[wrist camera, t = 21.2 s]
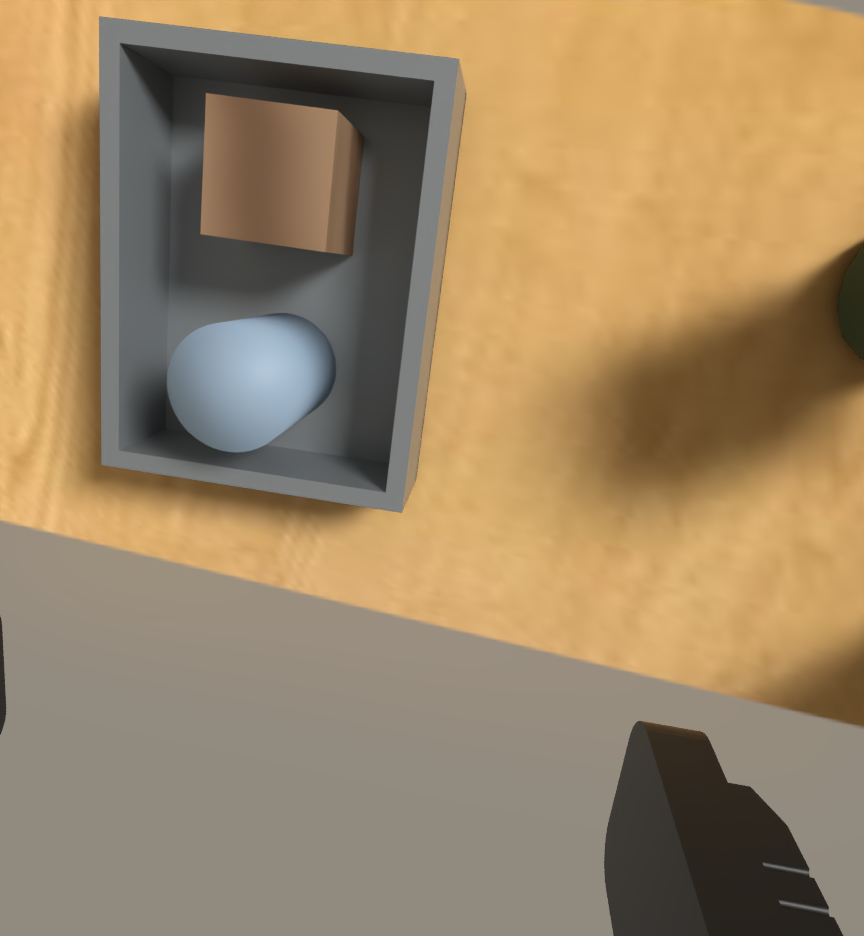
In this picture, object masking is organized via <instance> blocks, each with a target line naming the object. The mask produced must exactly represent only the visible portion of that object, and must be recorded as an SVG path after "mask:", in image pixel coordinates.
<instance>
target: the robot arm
mask: <svg viewBox="0 0 864 936" xmlns="http://www.w3.org/2000/svg"><path fill="white" fill-rule="evenodd" d="M5 716H6V696H5V677H4V656H3V637H2V622H1V617H0V734H1V732H2V729H3V725H4V722H5ZM604 868H605V883H606V891H607V897H608V903H609V909H610V915H611V922H612V928H613V934H614V936H843V934H842V932H841V930H840V928H839V926H838V924H837V923H836V920H835V919H834V918H833V917H830V916H829V913H828V909H829V907H828V905H827V903H826V901H825V899H824V897H823V895H822V893H821V891H820V889H819V887H818V885H817V883H816V881H815V879H814V878H810V876H809V867H808V866H807V864H806V861H805V860H804V858H803V856H802V854H801V852H800V850H799V848H798V846H797V844H796V842H795V840H794V838H793V836H792V834H791V832H790V830H789V828H788V826H787V825H786V824H785V823H784V822H783V821H782V820H781V819H780V817H778V815H777V814H776V813H775V812H774V811H773V810H772V809H771V808H770V807H769V806H768V805H767V804H766V803H765V802H764V801H763V800H762V799H761V797H759V795H758V794H757V793H756V792H755V791H754V790H753V789H752V788H751V787H749V786H743V785H738V784H732V783H728V782H727V780H726V778H725V775H724V773H723V771H722V769H721V766H720V764H719V762H718V759H717V757H716V755H715V752H714V750H713V748H712V746H711V743H710V741H709V739H708V737H707V736H706V735H705V733H703V732H700V731H694V730H688V729H683V728H677V727H671V726H666V725H660V724H654V723H648V722H643V721H638V722H637V723H636V724H635V725H634V727H633V729H632V731H631V734H630V738H629V742H628V746H627V750H626V754H625V758H624V762H623V766H622V770H621V774H620V778H619V782H618V786H617V791H616V794H615V798H614V802H613V807H612V810H611V815H610V819H609V823H608V827H607V834H606V842H605V861H604Z"/></svg>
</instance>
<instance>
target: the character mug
mask: <svg viewBox="0 0 864 936" xmlns="http://www.w3.org/2000/svg"><path fill="white" fill-rule="evenodd" d="M837 309H838V315H839V320H840V326H841V332H842V337H843V338H844V339H845V340H846V341H847V342H848V344H849V345H850V346H851V347H852V348H853V350H854V351H855V352H856V353H857V354H858V355H859V357H860V358H861V359H863V360H864V245H863V247H862V248H861V250H860V251H859V253H858V254H857V256H856V257H855V259H854V260H853V262H852V263H851V264H850V266H849V267H848V269H847V270H846V272H845V276H844V280H843V284H842V288H841V291H840V295H839V299H838V303H837Z"/></svg>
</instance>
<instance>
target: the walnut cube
mask: <svg viewBox="0 0 864 936" xmlns="http://www.w3.org/2000/svg"><path fill="white" fill-rule="evenodd" d="M363 147H364V136H363V135H362V134H361V133H360V132H359V131H358V130H357V129H356V128H355V127H354V126H353V125H352V124H351V123H350V122H349V121H348V120H347V119H346V118H345V117H344V116H343V115H342V114H341V113H340V112H339V111H338V110H331V109H323V108H316V107H308V106H301V105H293V104H285V103H278V102H270V101H263V100H255V99H247V98H240V97H232V96H225V95H217V94H209V93H206V107H205V132H204V157H203V181H202V206H201V231H200V234H203V235H210V236H217V237H224V238H231V239H237V240H244V241H251V242H258V243H265V244H272V245H279V246H286V247H293V248H300V249H307V250H314V251H321V252H328V253H336V254H344V255H351V256H353V246H354V236H355V227H356V217H357V207H358V197H359V187H360V177H361V167H362V157H363Z"/></svg>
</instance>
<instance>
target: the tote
mask: <svg viewBox="0 0 864 936" xmlns="http://www.w3.org/2000/svg"><path fill="white" fill-rule="evenodd" d="M99 86H100V294H101V465H104V466H111V467H117V468H123V469H129V470H136V471H142V472H148V473H155V474H161V475H167V476H173V477H180V478H186V479H192V480H199V481H205V482H211V483H217V484H224V485H230V486H236V487H243V488H249V489H255V490H261V491H268V492H274V493H280V494H286V495H293V496H299V497H305V498H312V499H318V500H324V501H330V502H337V503H343V504H349V505H356V506H362V507H368V508H374V509H381V510H387V511H393V512H400V513H402V511H403V509H404V507H405V504H406V502H407V500H408V497H409V495H410V493H411V490H412V488H413V486H414V483H415V481H416V476H417V469H418V461H419V453H420V446H421V438H422V430H423V423H424V415H425V407H426V400H427V392H428V384H429V377H430V369H431V361H432V354H433V346H434V338H435V331H436V323H437V315H438V308H439V300H440V292H441V285H442V277H443V269H444V262H445V254H446V246H447V238H448V231H449V223H450V215H451V208H452V200H453V192H454V185H455V177H456V169H457V162H458V154H459V146H460V139H461V131H462V123H463V116H464V108H465V100H466V89H465V85H464V80H463V75H462V70H461V65H460V61H459V59H456V58H448V57H440V56H431V55H423V54H414V53H406V52H397V51H389V50H380V49H372V48H363V47H355V46H346V45H338V44H329V43H321V42H312V41H304V40H295V39H287V38H278V37H270V36H261V35H253V34H244V33H236V32H227V31H219V30H210V29H202V28H193V27H185V26H176V25H168V24H159V23H151V22H142V21H134V20H126V19H117V18H109V17H100V16H99ZM206 93H209V94H217V95H225V96H232V97H240V98H247V99H255V100H263V101H270V102H278V103H285V104H293V105H301V106H308V107H316V108H323V109H331V110H338V111H339V112H340V113H341V114H342V115H343V116H344V117H345V118H346V119H347V120H348V121H349V122H350V123H351V124H352V125H353V126H354V127H355V128H356V129H357V130H358V131H359V132H360V133H361V134H362V135H363V136H364V147H363V157H362V167H361V177H360V187H359V197H358V207H357V217H356V227H355V236H354V246H353V256H351V255H344V254H336V253H328V252H321V251H314V250H307V249H300V248H293V247H286V246H279V245H272V244H265V243H258V242H251V241H244V240H237V239H231V238H224V237H217V236H210V235H203V234H200V231H201V206H202V181H203V157H204V132H205V107H206ZM274 313H289V314H295V315H298V316H301V317H303V318H305V319H307V320H309V321H310V322H312V323H313V324H315V325H316V326H317V327H318V328H319V329H320V330H321V331H322V332H323V333H324V335H325V336H326V337H327V339H328V340H329V342H330V344H331V346H332V349H333V351H334V355H335V359H336V378H335V382H334V386H333V388H332V391H331V393H330V394H329V396H328V398H327V399H326V400H325V401H324V402H323V403H322V404H321V405H320V406H319V407H318V408H316V409H315V410H314V411H312V412H311V413H309V414H308V415H307V416H305V417H304V418H302V419H301V420H300V421H298V422H297V423H295V424H294V425H293V426H291V427H290V428H288V429H287V430H286V431H284V432H283V433H281V434H280V435H279V436H277V437H276V438H274V439H273V440H272V441H270V442H269V443H267V444H266V445H264V446H262V447H260V448H257V449H254V450H251V451H246V452H226V451H221V450H218V449H215V448H212V447H210V446H208V445H206V444H204V443H202V442H201V441H199V440H197V439H196V438H195V437H194V436H192V435H191V434H190V433H189V432H188V431H187V430H186V429H185V428H184V426H183V425H182V424H181V422H180V421H179V419H178V418H177V416H176V414H175V412H174V410H173V408H172V406H171V402H170V399H169V395H168V390H167V373H168V368H169V364H170V361H171V358H172V356H173V354H174V352H175V350H176V348H177V347H178V345H179V344H180V343H181V342H182V341H183V340H184V339H185V337H187V336H188V335H189V334H191V333H192V332H194V331H195V330H197V329H199V328H201V327H204V326H206V325H210V324H215V323H221V322H227V321H232V320H238V319H244V318H250V317H256V316H262V315H268V314H274Z"/></svg>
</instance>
